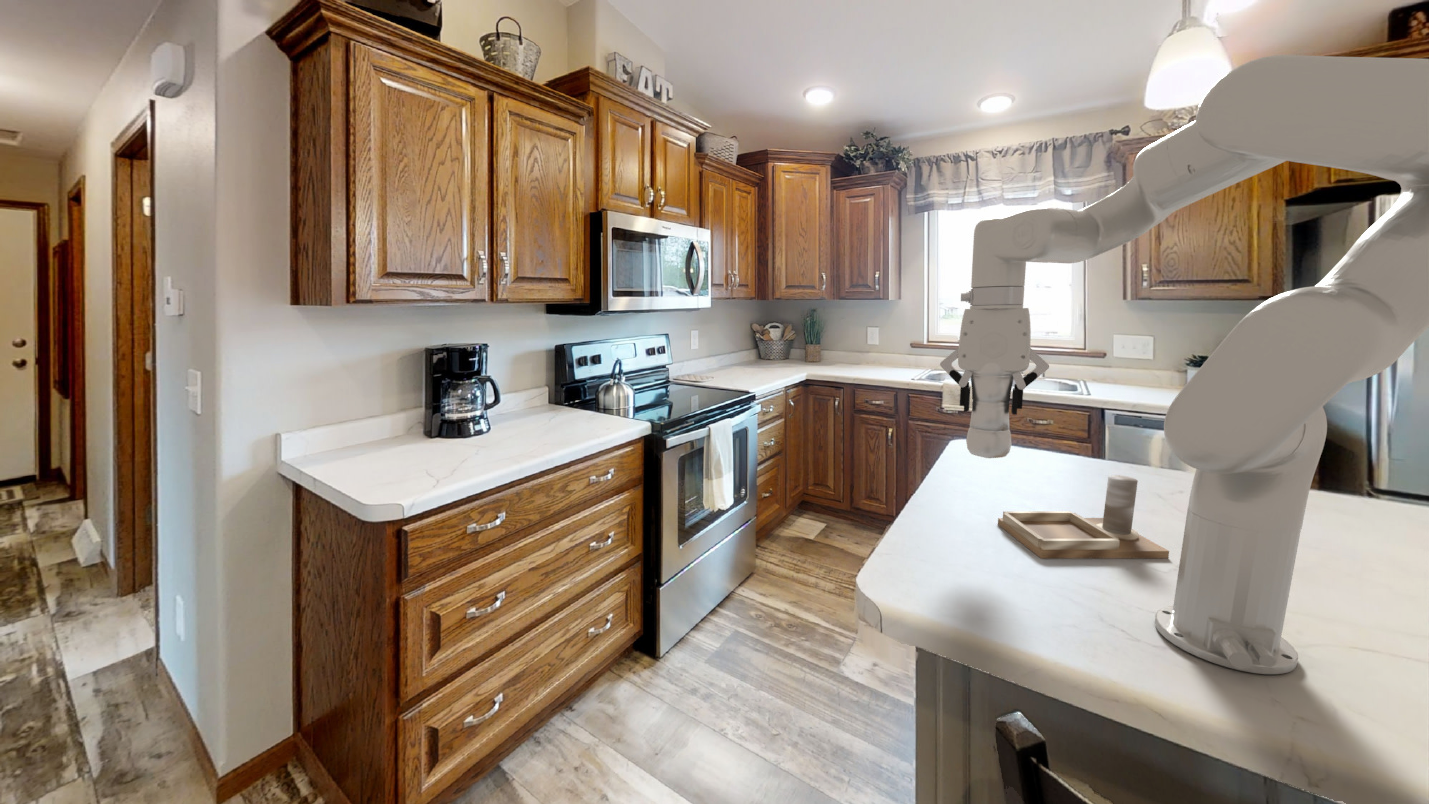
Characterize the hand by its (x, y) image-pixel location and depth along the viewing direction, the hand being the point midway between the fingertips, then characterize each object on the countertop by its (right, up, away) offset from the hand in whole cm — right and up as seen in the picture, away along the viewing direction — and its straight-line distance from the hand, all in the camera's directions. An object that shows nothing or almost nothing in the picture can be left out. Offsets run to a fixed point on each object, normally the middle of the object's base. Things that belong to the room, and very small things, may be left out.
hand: (989, 410), depth 92 cm
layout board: (+17, -22, +4) cm, 28 cm away
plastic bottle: (0, -8, +1) cm, 8 cm away
